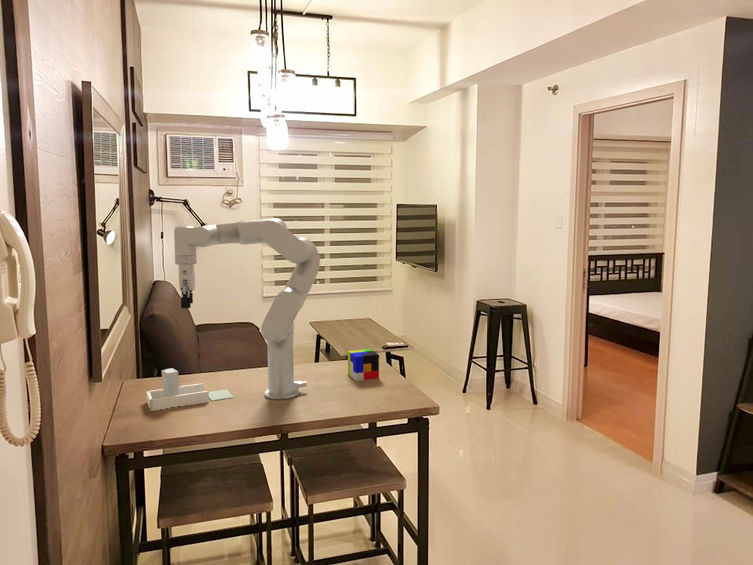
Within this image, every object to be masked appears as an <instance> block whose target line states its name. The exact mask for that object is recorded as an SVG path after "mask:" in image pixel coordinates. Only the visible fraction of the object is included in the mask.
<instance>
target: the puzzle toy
mask: <svg viewBox="0 0 753 565" xmlns="http://www.w3.org/2000/svg"><path fill="white" fill-rule="evenodd" d="M379 363H380V354H379V353H377V352H376V351H374V350H373V349H371V348H366V349H357V350H356V349H355V350H348V351H347V375H348V376H349V377H351V378H352V379H353V380H354V382H358V381H368V380H374V379H380V369H379V368H380V364H379Z"/></svg>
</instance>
